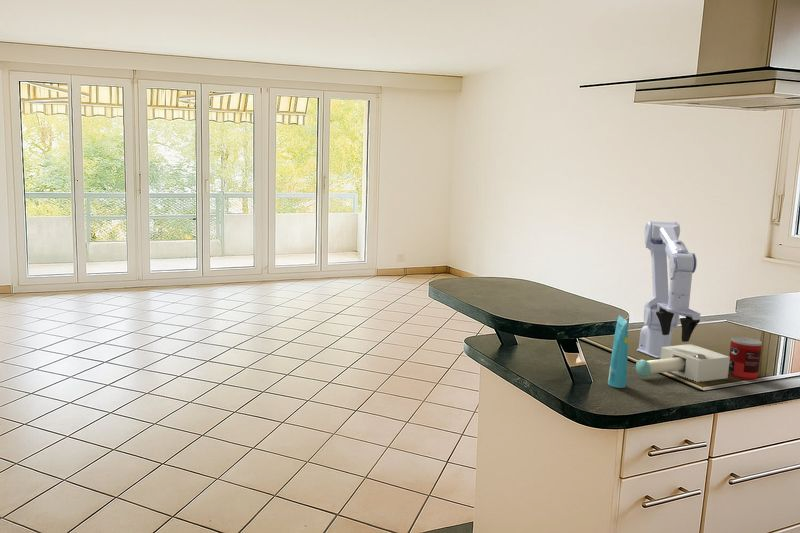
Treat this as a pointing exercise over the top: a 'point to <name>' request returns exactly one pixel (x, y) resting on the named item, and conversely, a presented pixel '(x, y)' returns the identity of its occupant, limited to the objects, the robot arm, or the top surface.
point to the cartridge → (660, 366)
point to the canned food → (744, 358)
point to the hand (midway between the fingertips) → (675, 338)
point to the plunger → (700, 356)
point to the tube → (619, 355)
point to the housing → (698, 362)
